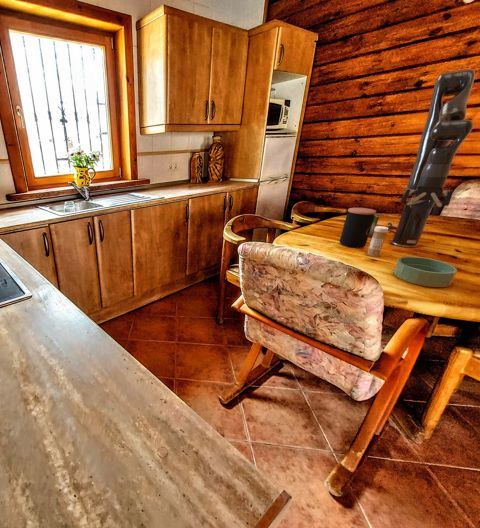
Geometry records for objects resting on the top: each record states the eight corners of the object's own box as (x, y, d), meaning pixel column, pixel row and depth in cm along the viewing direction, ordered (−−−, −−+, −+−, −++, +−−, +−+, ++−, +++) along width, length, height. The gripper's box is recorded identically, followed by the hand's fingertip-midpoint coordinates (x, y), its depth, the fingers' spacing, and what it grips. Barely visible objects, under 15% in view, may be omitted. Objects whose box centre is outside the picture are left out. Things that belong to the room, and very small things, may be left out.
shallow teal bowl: (387, 267, 116) (392, 254, 113) (439, 273, 109) (445, 259, 107) (400, 284, 103) (405, 269, 101) (458, 291, 96) (466, 276, 94)
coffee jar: (366, 250, 134) (378, 213, 126) (339, 246, 139) (349, 211, 132) (363, 243, 142) (374, 208, 135) (338, 240, 147) (347, 207, 140)
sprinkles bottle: (380, 255, 128) (390, 227, 122) (376, 257, 125) (386, 229, 120) (368, 252, 131) (377, 225, 126) (364, 254, 129) (373, 227, 123)
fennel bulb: (361, 234, 154) (367, 213, 149) (372, 235, 152) (379, 213, 147) (364, 237, 149) (370, 215, 144) (375, 238, 147) (382, 216, 142)
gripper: (456, 174, 112) (440, 213, 118) (408, 173, 119) (395, 211, 126) (462, 176, 106) (445, 218, 112) (412, 175, 114) (398, 214, 120)
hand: (419, 214), depth 119 cm, fingers open, 8 cm apart
